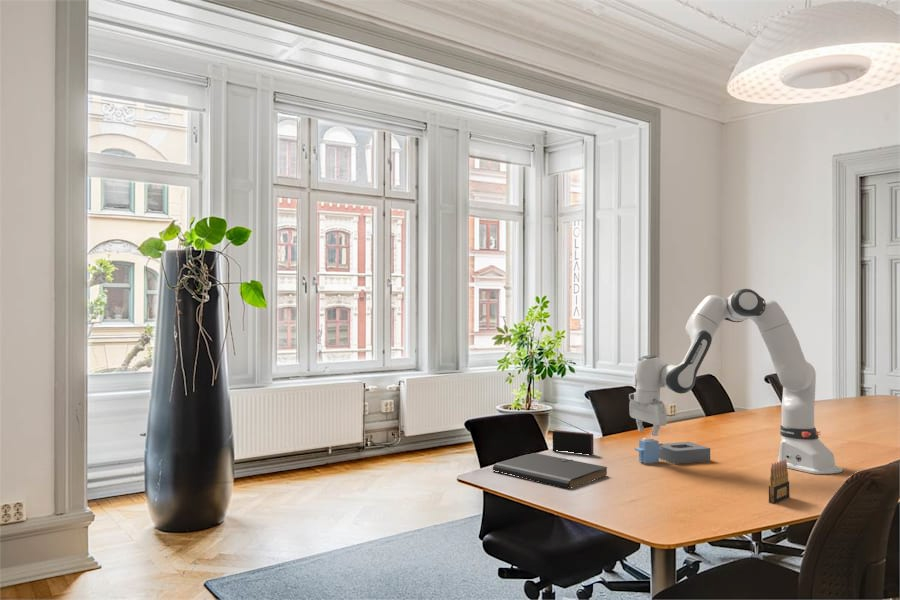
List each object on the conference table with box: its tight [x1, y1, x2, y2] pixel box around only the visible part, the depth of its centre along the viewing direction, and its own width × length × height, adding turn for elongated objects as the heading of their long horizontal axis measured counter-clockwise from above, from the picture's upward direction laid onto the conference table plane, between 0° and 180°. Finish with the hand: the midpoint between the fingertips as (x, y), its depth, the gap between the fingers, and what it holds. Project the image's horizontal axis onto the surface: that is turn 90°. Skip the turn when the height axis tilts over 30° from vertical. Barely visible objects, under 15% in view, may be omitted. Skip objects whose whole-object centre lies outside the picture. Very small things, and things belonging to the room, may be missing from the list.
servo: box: [634, 437, 664, 464], centre depth 257 cm, size 4×12×9 cm, turn 107°
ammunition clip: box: [768, 459, 791, 505], centre depth 205 cm, size 11×2×12 cm, turn 131°
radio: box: [548, 414, 595, 456], centre depth 273 cm, size 19×3×15 cm, turn 59°
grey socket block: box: [659, 441, 711, 465], centre depth 261 cm, size 13×16×5 cm
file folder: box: [492, 452, 608, 490], centre depth 239 cm, size 33×4×24 cm
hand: (647, 433), depth 257 cm, fingers open, 8 cm apart
